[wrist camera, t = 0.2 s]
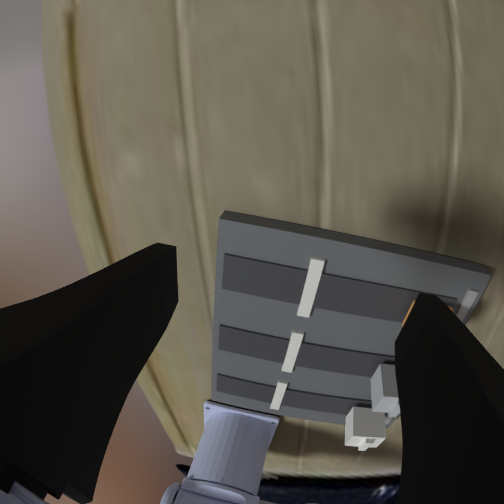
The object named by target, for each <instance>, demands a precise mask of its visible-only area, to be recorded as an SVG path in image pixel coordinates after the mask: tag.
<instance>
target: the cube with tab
mask: <svg viewBox="0 0 504 504" xmlns="http://www.w3.org/2000/svg"><path fill="white" fill-rule="evenodd" d="M385 438H386V427H385V413H384V412H372V408H363V407H353V408H352V409H351V411H350V412H349V413H348V415H347V416H346V425H345V446H356V447H358V451H365V450H366V449H367V448H368V447H372V448H377V447H378V446H379V445H380V444H381V443H382V442H383V441H384V440H385Z"/></svg>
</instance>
